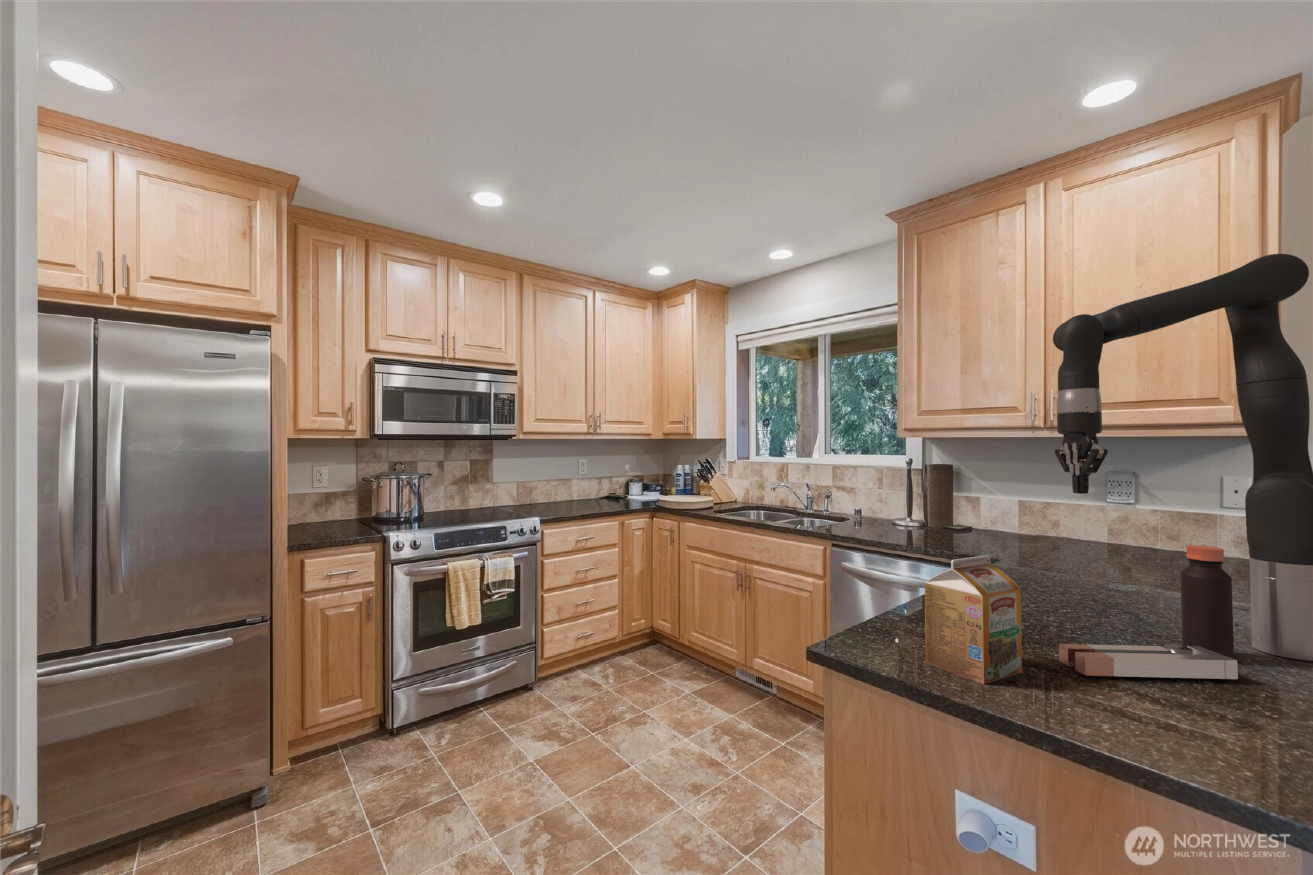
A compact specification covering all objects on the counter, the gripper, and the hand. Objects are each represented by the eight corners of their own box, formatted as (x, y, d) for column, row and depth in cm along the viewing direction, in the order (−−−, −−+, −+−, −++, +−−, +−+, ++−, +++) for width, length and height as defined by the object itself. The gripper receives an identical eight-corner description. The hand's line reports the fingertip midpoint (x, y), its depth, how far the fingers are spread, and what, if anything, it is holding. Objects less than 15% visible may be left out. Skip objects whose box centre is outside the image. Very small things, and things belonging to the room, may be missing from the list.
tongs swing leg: (1180, 663, 97) (1179, 644, 97) (1199, 671, 94) (1198, 651, 94) (1056, 660, 99) (1056, 641, 99) (1070, 668, 95) (1070, 648, 95)
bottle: (1219, 652, 104) (1216, 545, 105) (1244, 665, 98) (1240, 551, 98) (1174, 648, 106) (1171, 543, 107) (1195, 660, 100) (1192, 549, 101)
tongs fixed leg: (1199, 663, 97) (1198, 646, 97) (1237, 679, 90) (1237, 660, 90) (1058, 660, 98) (1057, 643, 98) (1085, 675, 91) (1085, 657, 92)
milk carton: (984, 684, 89) (982, 565, 90) (925, 662, 99) (924, 555, 99) (1022, 672, 94) (1020, 560, 95) (963, 653, 104) (961, 550, 104)
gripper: (1040, 413, 124) (1042, 491, 123) (1082, 408, 111) (1084, 495, 110) (1075, 413, 124) (1077, 491, 123) (1121, 408, 110) (1124, 495, 110)
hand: (1080, 493), depth 117 cm, fingers closed
